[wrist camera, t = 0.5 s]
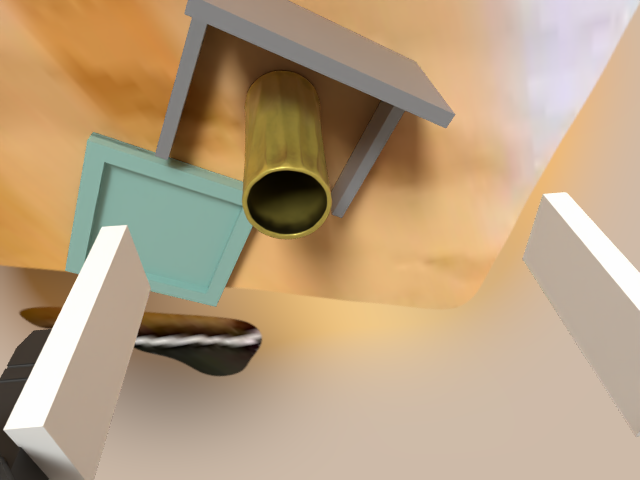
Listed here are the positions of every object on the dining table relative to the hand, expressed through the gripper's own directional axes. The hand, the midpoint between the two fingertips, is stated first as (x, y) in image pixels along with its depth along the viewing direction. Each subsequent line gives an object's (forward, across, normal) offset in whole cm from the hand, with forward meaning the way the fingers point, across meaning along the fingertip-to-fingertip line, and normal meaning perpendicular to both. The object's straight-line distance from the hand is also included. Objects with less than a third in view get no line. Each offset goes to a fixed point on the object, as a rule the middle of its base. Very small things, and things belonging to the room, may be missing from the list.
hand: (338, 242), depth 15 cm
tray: (+25, -14, -17) cm, 33 cm away
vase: (+25, -2, -6) cm, 26 cm away
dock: (+25, -2, -6) cm, 26 cm away
